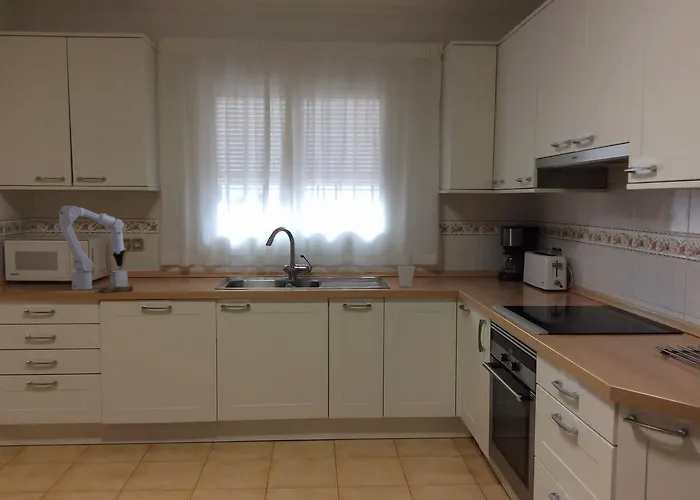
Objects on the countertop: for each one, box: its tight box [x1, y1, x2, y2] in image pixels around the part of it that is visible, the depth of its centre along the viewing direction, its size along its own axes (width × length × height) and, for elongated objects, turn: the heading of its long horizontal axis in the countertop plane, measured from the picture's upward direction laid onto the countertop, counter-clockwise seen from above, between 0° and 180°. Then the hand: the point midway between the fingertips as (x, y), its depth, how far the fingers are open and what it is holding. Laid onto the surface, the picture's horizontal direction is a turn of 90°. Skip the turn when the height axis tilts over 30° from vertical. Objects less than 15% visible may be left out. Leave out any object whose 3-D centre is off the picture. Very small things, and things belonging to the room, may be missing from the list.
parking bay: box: [101, 283, 134, 294], centre depth 310 cm, size 14×11×2 cm
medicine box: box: [109, 269, 129, 287], centre depth 321 cm, size 8×4×9 cm, turn 149°
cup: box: [396, 265, 416, 288], centre depth 326 cm, size 10×10×11 cm
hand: (120, 265), depth 329 cm, fingers open, 7 cm apart
